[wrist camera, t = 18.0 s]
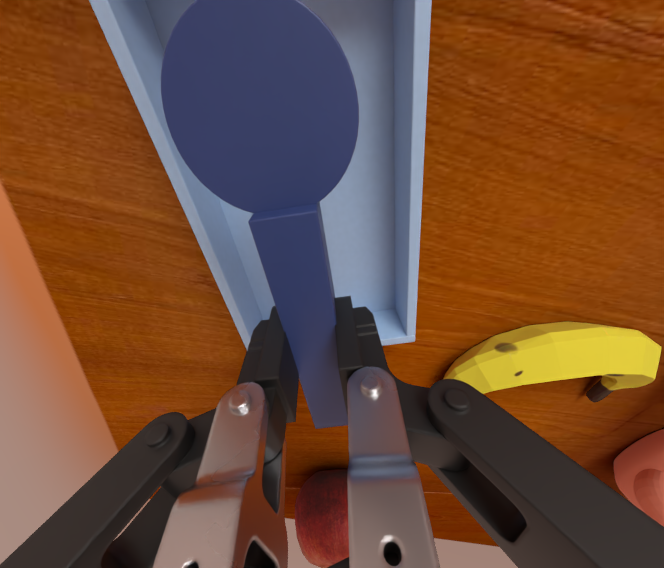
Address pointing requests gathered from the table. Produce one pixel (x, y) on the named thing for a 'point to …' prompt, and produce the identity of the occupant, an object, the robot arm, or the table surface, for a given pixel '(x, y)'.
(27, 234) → the table surface
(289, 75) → the navy spoon
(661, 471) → the teapot
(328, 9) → the blue tray
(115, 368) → the table surface
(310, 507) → the fruit
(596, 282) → the table surface
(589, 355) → the banana
